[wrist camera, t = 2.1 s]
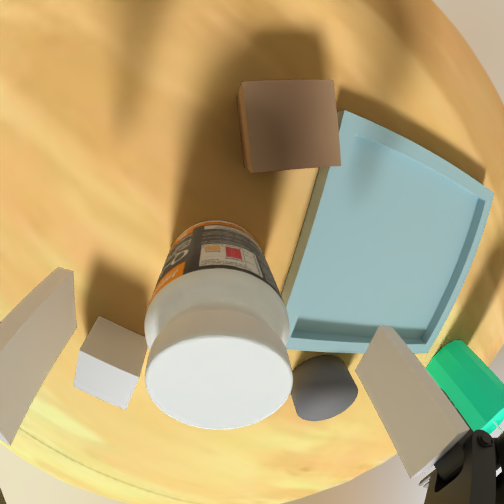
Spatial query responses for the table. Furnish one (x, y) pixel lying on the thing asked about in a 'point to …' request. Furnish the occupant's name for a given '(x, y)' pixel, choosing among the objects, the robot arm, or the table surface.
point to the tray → (382, 243)
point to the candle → (469, 385)
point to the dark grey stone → (322, 388)
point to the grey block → (110, 362)
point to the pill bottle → (217, 331)
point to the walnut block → (288, 124)
